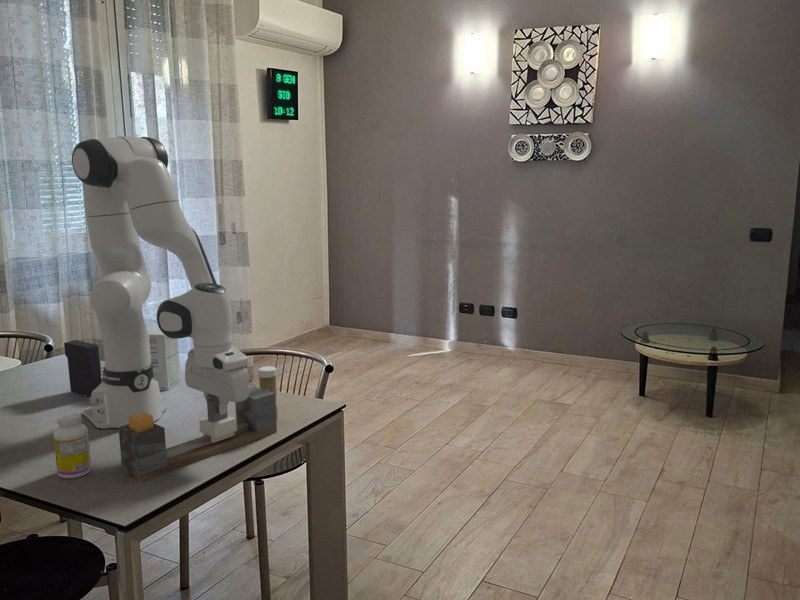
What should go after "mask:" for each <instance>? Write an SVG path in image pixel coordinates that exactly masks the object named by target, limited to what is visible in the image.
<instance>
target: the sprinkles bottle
mask: <svg viewBox="0 0 800 600" xmlns="http://www.w3.org/2000/svg"><path fill="white" fill-rule="evenodd" d="M257 374H258V379H259V380H258V381H259V388H261V389H264V390H267V391H270V392H273V393H275V398H276V420H277V419H278V417H279V415H278V393H277V389H278V388H277V367H275V366H269V365H268V366H262V367H260V368H258V371H257Z"/></svg>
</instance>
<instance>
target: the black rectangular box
mask: <svg viewBox="0 0 800 600" xmlns="http://www.w3.org/2000/svg"><path fill="white" fill-rule="evenodd" d="M99 347H100V346H99V345H98V344H95V343H90V342H86V341H81V340H76V339H75V340H71V341H66V342H64V343H63V348H64V355H65V357H66V358H67V368H68V376H69V377H68V378H69V386H70V387H69V388H70V392H71V391H72V392H75V393H74V394H76V393H78V394H77V395H79V394H82V395H81V396H83V395H86V396H85V397H87V396H89V397H88V398H90V397H91V393H92V391H93V390H94V389H95V388H96V387H97V386H98V385H99V384H100V383H101V382H102V377H103V376H102V374H103V372H102V362H101V359H100V358H101V357H100V348H99ZM72 392H71V393H72Z"/></svg>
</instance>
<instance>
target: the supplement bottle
mask: <svg viewBox="0 0 800 600" xmlns="http://www.w3.org/2000/svg"><path fill="white" fill-rule="evenodd" d="M56 424H57V426H58V427H57V428H55V430H54V431H53V433H52V434H53V445H54V454H55V462H56V463H55V464H56V471H57V475H58V476H59V478H62V479H76V477H77V478H80V476H81V477H83V476H86V475H88V474H89V472H91V470H92V459H91V450H90V439H89V430H88V427H87V426H86V425H85V424H83V423H82V414H81V413H80V412H76V411H75V412H66V413H63V414H59V415H57V417H56Z"/></svg>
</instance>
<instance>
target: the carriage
mask: <svg viewBox="0 0 800 600" xmlns="http://www.w3.org/2000/svg"><path fill="white" fill-rule="evenodd" d="M219 404H220V401H219V400H218V397H217V396H214V395H210V399H208V400H207V402H206V406H207V407H206V410H207V417H204V418H200V419H199V420H198V421H199V432H200V433H202V436H205V435H209V436H211V443H215V442H218V441H221V440H223V439H226V438H229V437H232V436H234V432H235V431H237V420H236V417H234V416H230V415H228V412H227V413H226V414H223V415H220V414H218V413H217V406H219Z"/></svg>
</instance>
